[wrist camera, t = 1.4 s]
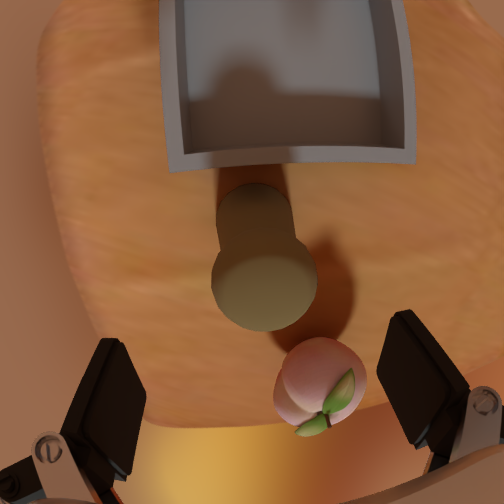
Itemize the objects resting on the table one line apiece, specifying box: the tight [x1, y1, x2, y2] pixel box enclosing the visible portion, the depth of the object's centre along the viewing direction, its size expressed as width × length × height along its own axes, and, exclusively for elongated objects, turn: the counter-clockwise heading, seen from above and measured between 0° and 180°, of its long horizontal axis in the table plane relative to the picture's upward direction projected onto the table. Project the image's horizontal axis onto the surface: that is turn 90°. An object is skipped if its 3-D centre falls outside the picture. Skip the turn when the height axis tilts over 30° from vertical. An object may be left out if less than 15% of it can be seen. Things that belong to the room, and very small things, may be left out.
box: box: [159, 0, 416, 173], centre depth 15 cm, size 16×16×4 cm
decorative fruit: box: [273, 337, 367, 436], centre depth 24 cm, size 9×8×10 cm
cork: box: [211, 183, 318, 332], centre depth 18 cm, size 6×6×11 cm
